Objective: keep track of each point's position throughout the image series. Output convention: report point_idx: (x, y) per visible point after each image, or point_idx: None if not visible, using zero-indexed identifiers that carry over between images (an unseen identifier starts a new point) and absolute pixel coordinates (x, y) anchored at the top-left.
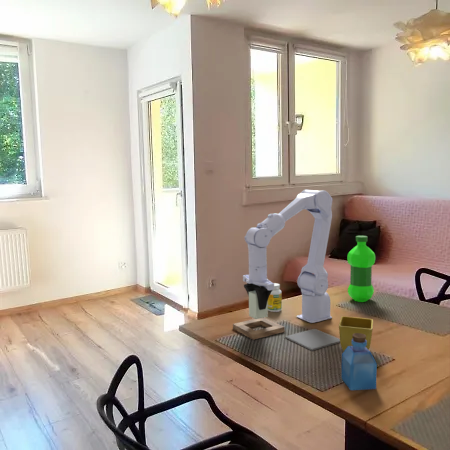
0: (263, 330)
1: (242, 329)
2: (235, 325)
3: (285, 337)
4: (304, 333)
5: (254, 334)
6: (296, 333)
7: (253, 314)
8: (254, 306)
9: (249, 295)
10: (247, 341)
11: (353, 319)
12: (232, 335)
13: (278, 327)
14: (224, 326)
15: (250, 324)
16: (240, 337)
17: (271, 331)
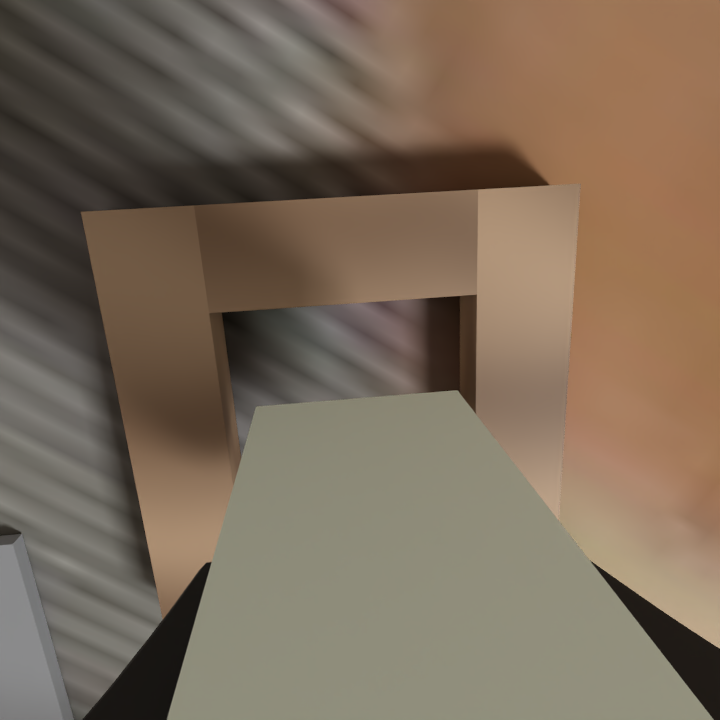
0: (165, 402)
1: (342, 197)
2: (515, 187)
3: (16, 536)
4: (13, 717)
5: (85, 234)
6: (45, 662)
7: (334, 424)
8: (292, 516)
9: (646, 704)
10: (86, 119)
11: None
12: (361, 56)
13: (180, 585)
14: (679, 134)
15: (470, 389)
16: (250, 113)
17: (139, 476)
